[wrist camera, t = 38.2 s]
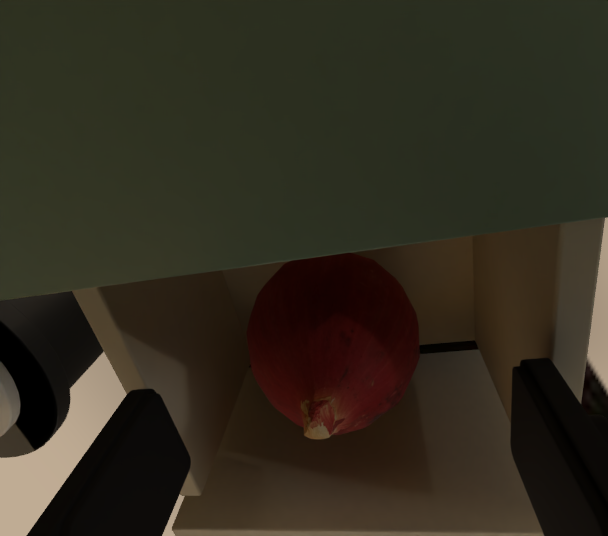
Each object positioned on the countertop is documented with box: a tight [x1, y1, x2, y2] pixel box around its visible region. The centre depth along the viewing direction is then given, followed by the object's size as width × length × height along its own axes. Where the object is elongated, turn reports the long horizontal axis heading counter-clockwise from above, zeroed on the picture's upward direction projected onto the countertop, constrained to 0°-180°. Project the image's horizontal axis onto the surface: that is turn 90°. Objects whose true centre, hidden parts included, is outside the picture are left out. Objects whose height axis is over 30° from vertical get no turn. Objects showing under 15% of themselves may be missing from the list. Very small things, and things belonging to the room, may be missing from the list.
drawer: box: [72, 218, 605, 536], centre depth 15 cm, size 20×14×8 cm
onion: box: [246, 253, 420, 439], centre depth 13 cm, size 6×6×8 cm
